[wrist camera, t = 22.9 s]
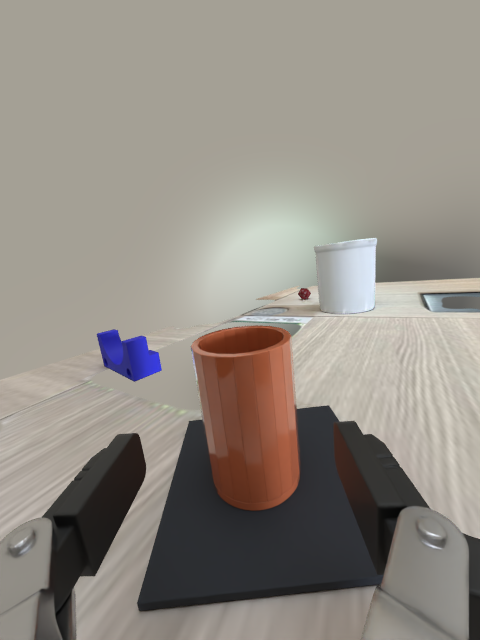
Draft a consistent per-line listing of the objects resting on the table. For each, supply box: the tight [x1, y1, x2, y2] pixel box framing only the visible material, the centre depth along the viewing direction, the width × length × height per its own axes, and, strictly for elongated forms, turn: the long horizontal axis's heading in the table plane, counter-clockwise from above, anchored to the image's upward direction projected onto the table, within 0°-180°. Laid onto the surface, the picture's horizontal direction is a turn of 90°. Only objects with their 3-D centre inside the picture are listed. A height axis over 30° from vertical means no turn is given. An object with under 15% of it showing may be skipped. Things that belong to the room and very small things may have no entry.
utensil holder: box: [314, 238, 377, 314], centre depth 67 cm, size 15×15×18 cm
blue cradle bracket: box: [97, 330, 161, 381], centre depth 42 cm, size 12×4×6 cm, turn 47°
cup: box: [191, 326, 300, 511], centre depth 17 cm, size 6×6×10 cm
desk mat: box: [137, 406, 384, 611], centre depth 19 cm, size 14×14×1 cm
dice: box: [298, 288, 311, 299], centre depth 91 cm, size 4×4×4 cm
